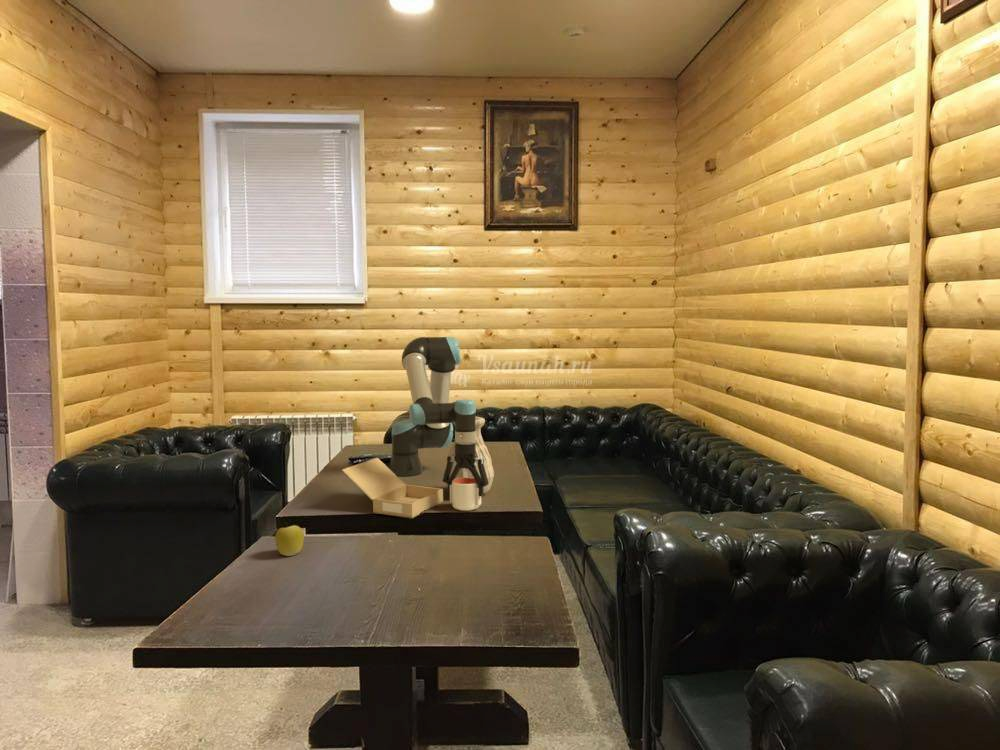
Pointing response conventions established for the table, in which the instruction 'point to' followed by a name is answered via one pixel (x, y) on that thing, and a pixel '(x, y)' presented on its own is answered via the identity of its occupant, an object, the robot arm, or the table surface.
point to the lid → (373, 478)
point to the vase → (480, 453)
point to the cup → (464, 494)
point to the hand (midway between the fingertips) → (465, 503)
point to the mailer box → (407, 501)
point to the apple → (289, 540)
